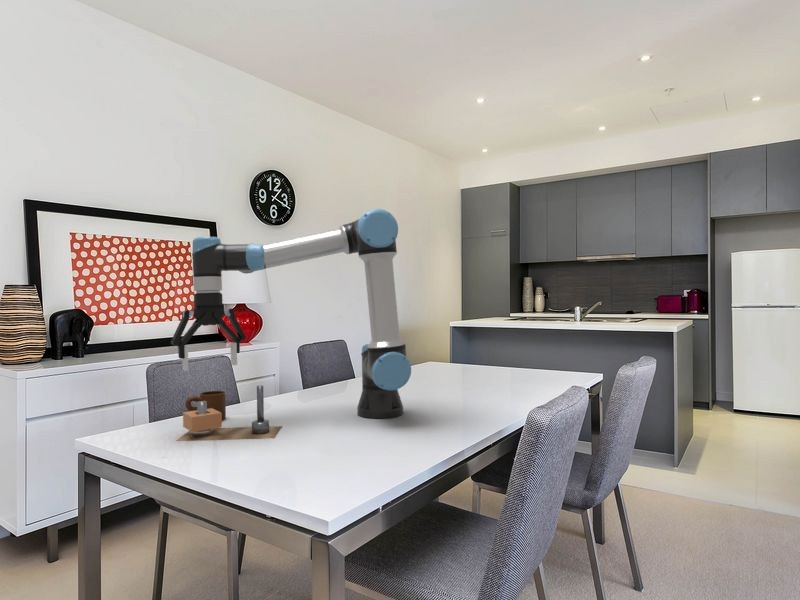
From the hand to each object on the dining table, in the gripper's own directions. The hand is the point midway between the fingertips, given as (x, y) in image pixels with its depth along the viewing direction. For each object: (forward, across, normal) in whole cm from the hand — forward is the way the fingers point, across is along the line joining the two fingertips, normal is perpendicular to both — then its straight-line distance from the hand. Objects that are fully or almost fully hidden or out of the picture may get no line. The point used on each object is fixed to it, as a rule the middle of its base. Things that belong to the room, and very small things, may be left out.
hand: (210, 367), depth 146 cm
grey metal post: (+18, +3, 0) cm, 18 cm away
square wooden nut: (+16, +3, 0) cm, 16 cm away
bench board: (+19, -4, +5) cm, 20 cm away
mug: (+19, -3, -15) cm, 25 cm away
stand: (+18, -10, +10) cm, 23 cm away
